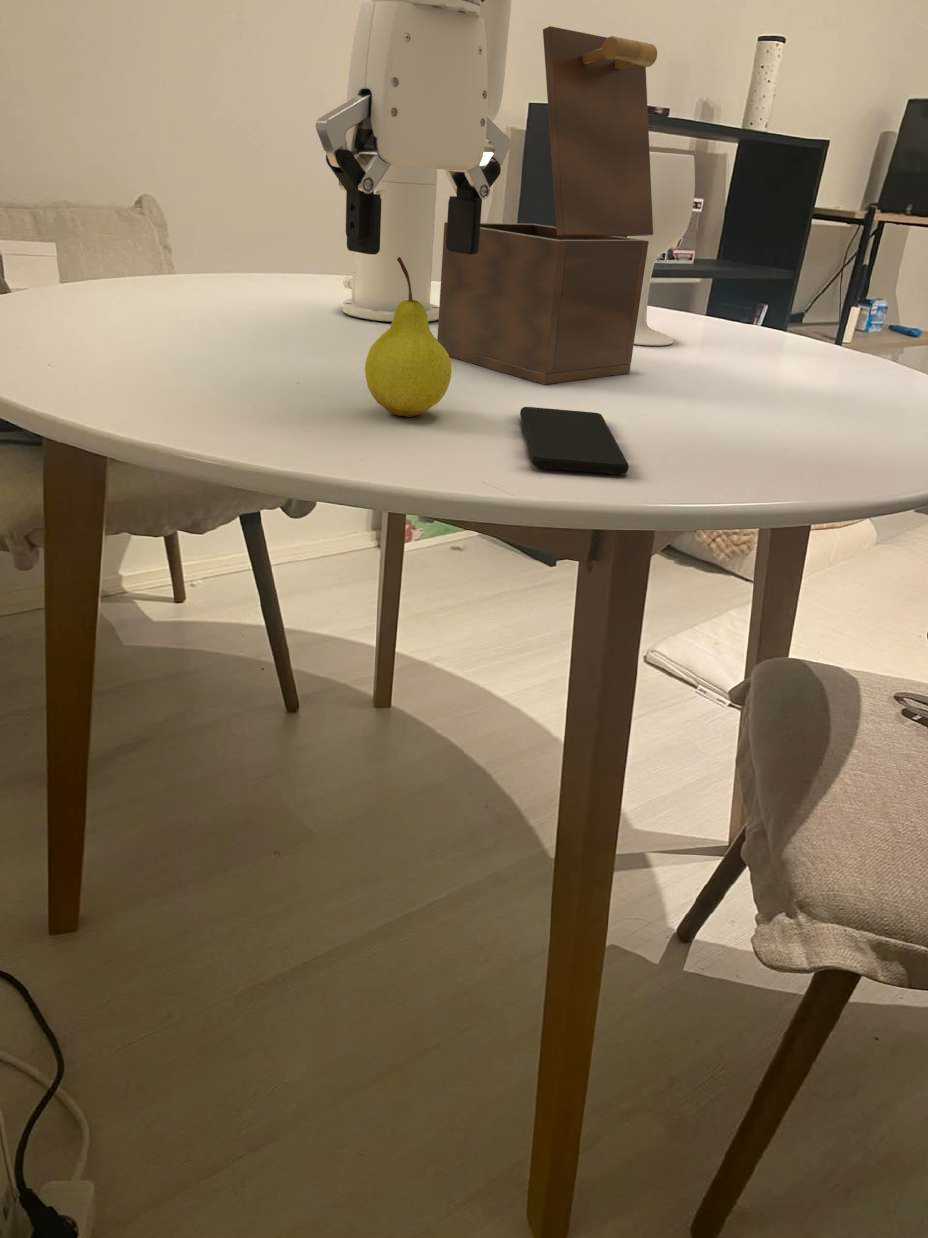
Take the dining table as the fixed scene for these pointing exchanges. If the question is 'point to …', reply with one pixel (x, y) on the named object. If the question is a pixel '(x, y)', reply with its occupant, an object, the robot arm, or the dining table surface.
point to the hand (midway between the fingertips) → (414, 252)
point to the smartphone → (571, 441)
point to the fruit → (408, 362)
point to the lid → (599, 133)
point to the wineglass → (665, 225)
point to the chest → (542, 302)
